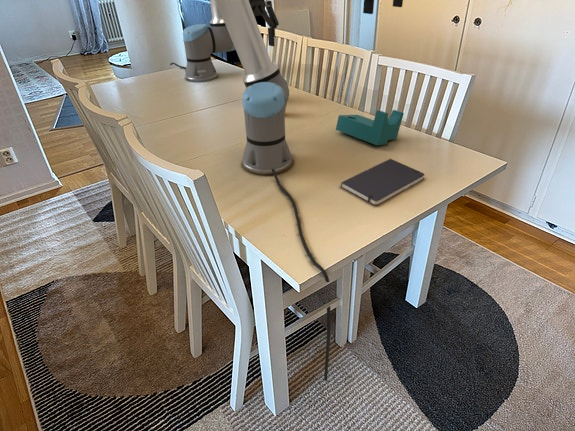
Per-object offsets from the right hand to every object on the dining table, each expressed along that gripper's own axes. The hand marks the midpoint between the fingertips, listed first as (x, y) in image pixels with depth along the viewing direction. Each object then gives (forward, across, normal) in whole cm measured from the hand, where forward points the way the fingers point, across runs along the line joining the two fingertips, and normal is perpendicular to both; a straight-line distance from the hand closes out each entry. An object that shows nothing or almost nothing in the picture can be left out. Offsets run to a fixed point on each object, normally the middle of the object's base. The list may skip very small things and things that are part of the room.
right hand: (383, 10), depth 111 cm
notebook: (+41, +17, +18) cm, 48 cm away
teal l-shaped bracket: (+41, -6, -5) cm, 41 cm away
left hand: (+20, -3, -58) cm, 62 cm away
